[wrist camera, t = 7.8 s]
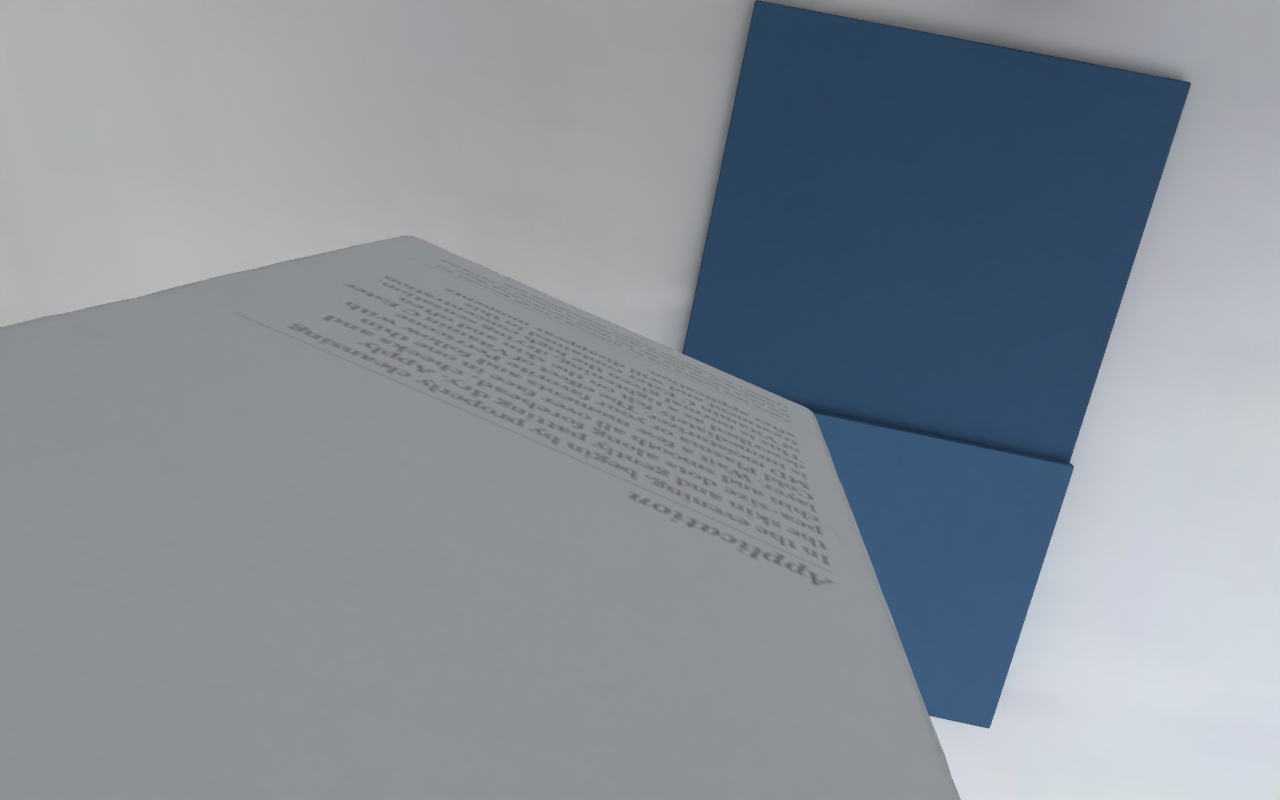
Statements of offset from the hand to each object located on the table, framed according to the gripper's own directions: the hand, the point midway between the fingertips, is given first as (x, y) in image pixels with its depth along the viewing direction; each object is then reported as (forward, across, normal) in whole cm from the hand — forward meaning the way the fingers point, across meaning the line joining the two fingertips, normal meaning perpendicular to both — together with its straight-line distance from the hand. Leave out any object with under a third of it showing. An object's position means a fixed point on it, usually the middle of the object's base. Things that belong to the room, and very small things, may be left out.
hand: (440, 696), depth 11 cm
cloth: (+20, -8, 0) cm, 21 cm away
